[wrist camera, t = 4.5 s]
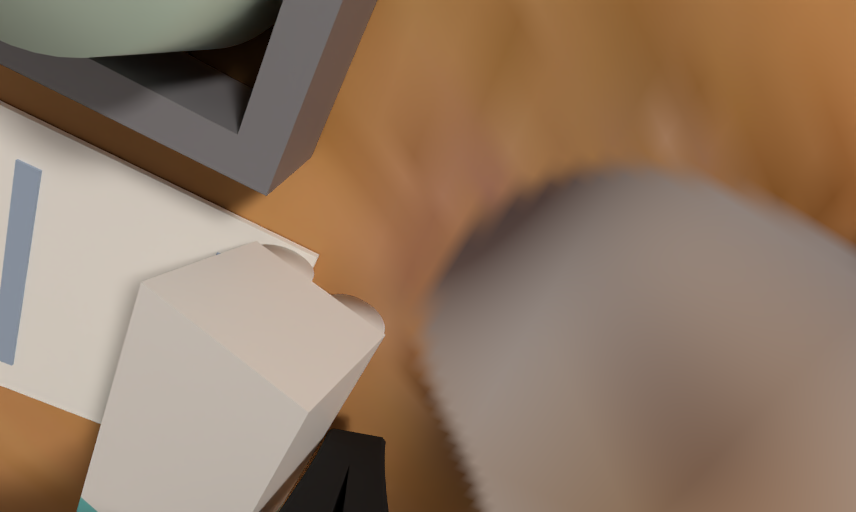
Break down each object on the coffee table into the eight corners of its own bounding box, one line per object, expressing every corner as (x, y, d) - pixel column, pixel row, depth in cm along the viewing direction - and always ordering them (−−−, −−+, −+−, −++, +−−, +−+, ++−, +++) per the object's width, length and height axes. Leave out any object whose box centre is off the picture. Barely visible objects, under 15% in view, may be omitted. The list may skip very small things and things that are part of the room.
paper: (319, 254, 10) (317, 259, 10) (219, 463, 14) (216, 470, 14) (-50, 76, 9) (-61, 76, 9) (-63, 355, 12) (-72, 360, 12)
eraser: (277, 233, 10) (140, 281, 7) (399, 321, 10) (308, 412, 7) (187, 449, 14) (66, 546, 11) (275, 523, 13) (176, 646, 10)
